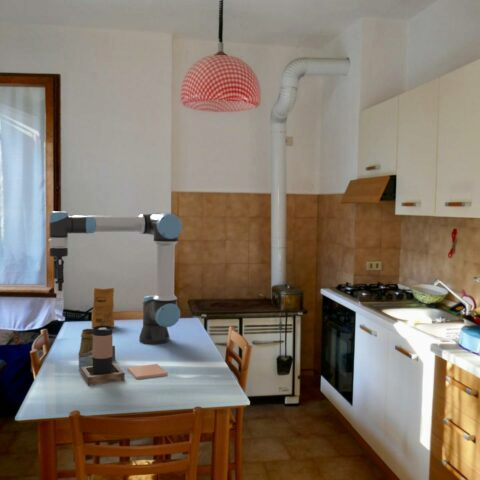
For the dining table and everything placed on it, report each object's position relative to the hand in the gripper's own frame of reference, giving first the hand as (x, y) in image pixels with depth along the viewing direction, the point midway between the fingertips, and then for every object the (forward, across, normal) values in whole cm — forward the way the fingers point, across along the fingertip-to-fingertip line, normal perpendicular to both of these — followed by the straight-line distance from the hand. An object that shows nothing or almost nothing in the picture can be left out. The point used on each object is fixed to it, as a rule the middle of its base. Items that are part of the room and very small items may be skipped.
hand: (58, 295), depth 232 cm
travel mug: (+28, +31, +14) cm, 45 cm away
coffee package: (+28, -56, +28) cm, 68 cm away
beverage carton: (+29, +13, +15) cm, 35 cm away
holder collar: (+28, +31, +14) cm, 44 cm away
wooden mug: (+28, -3, +16) cm, 32 cm away
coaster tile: (+28, +31, +32) cm, 53 cm away
